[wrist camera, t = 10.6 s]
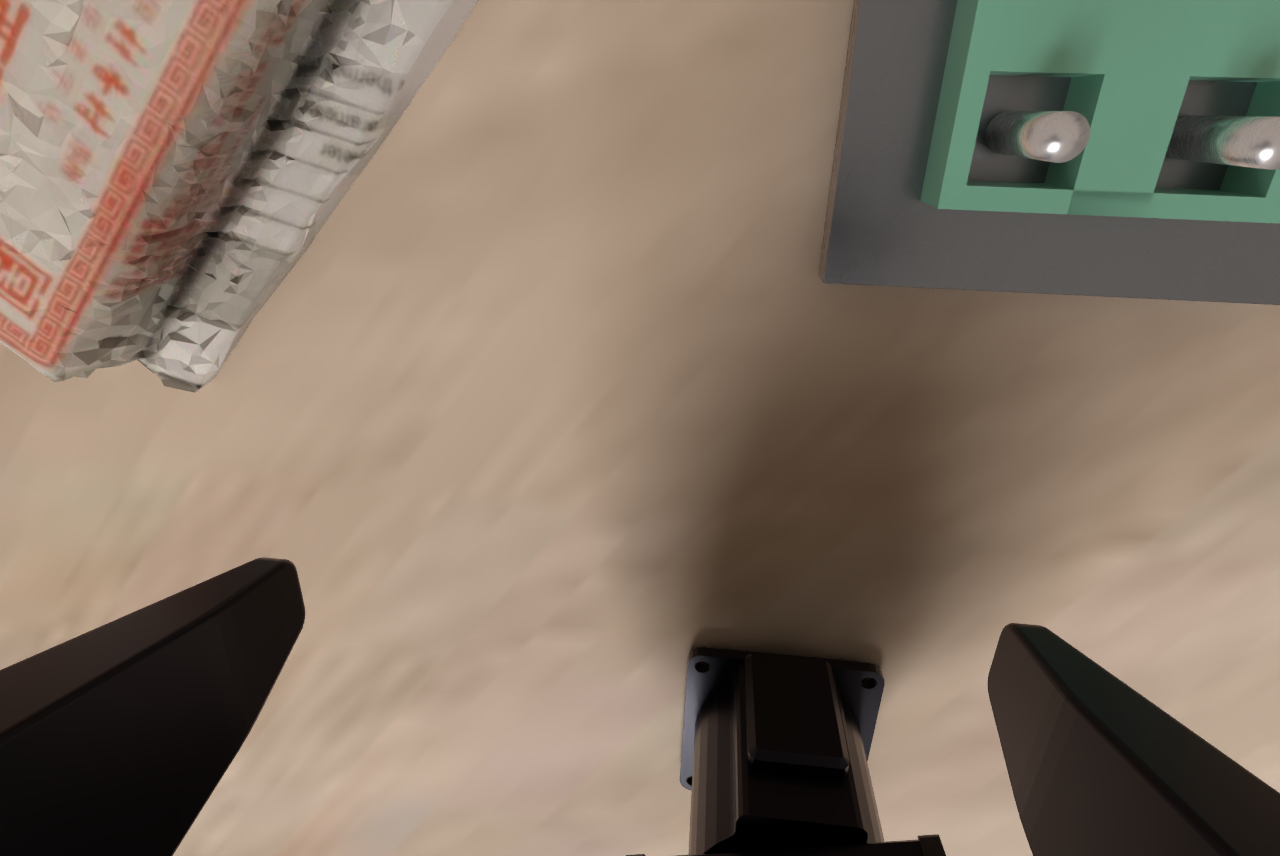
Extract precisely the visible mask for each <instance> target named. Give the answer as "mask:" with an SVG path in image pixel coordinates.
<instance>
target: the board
mask: <svg viewBox="0 0 1280 856" xmlns="http://www.w3.org/2000/svg"><path fill="white" fill-rule="evenodd" d="M989 75H1011V76H1049V77H1071V81H1070V85H1069V89H1068V93H1067V96H1066V100H1065V104H1064V108H1063V111H1074V112H1078V113H1080V114H1082V115H1083V116H1084V117H1085V118H1086V119H1087V121H1088V123H1089V126H1090V136H1089V140H1088V143H1087V145H1086V146H1085V148H1084V149H1083V151H1082V152H1081V153H1080V154H1079V155H1078V156H1076V157H1075V158H1073V159H1071V160H1069V161H1067V162H1062V163H1054V162H1050V164H1049V168H1048V171H1047V175H1046V179H1045V183H1026V182H1000V181H975V180H968V175H969V171H970V166H971V161H972V156H973V152H974V147H975V142H976V137H977V132H978V128H979V123H980V118H981V113H982V109H983V104H984V99H985V94H986V90H987V85H988V80H989ZM1189 80H1199V81H1236V82H1257V85H1256V88H1255V91H1254V94H1253V96H1252V99H1251V102H1250V105H1249V108H1248V111H1247V114H1246V116H1265V117H1280V0H958V1H957V6H956V11H955V17H954V22H953V27H952V33H951V38H950V44H949V49H948V54H947V60H946V65H945V71H944V76H943V81H942V87H941V92H940V97H939V103H938V108H937V114H936V119H935V124H934V130H933V135H932V141H931V146H930V151H929V157H928V162H927V167H926V173H925V178H924V184H923V189H922V194H921V200H920V201H922V202H924V203H926V204H928V205H930V206H933V207H935V208H937V209H953V210H976V211H999V212H1023V213H1046V214H1069V215H1093V216H1116V217H1139V218H1163V219H1186V220H1209V221H1233V222H1256V223H1280V169H1276V170H1269V169H1260V168H1251V167H1242V166H1233V165H1228V167H1227V170H1226V173H1225V176H1224V179H1223V182H1222V184H1221V187H1220V190H1204V189H1178V188H1155V186H1156V183H1157V180H1158V177H1159V174H1160V171H1161V167H1162V164H1163V161H1164V158H1165V155H1166V152H1167V148H1168V145H1169V142H1170V139H1171V136H1172V133H1173V129H1174V126H1175V123H1176V120H1177V117H1178V114H1179V110H1180V107H1181V104H1182V101H1183V98H1184V95H1185V91H1186V88H1187V85H1188V82H1189Z"/></svg>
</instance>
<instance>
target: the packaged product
mask: <svg viewBox="0 0 1280 856" xmlns="http://www.w3.org/2000/svg"><path fill="white" fill-rule="evenodd" d="M477 1H478V0H0V343H1V344H3V345H4V346H6V347H7V348H8V349H10V350H11V351H13V352H14V353H16V354H17V355H18V356H20V357H21V358H23V359H24V360H26V361H27V362H28V363H29V364H30V365H32V366H33V367H34V368H35V369H37V370H38V371H39V372H40V373H41V374H44V375H46V376H47V377H49V378H50V379H51V380H53V381H54V382H58V381H64V380H66V379H69V378H71V377H83V378H87V377H88V376H89V375H90V374H91V373H92V372H93V371H94V370H95V369H96V368H106V367H115V366H121V365H123V364H126V363H129V362H132V361H134V360H136V359H137V360H138V361H139V362H141V363H142V364H143V365H144V366H146V367H147V368H148V369H149V370H151V371H152V372H153V373H154V374H156V375H157V376H158V377H159V378H160V379H161V380H162V382H163V384H164V386H167V387H172V388H176V389H181V390H185V391H191V392H197V391H198V390H200V389H201V388H203V387H204V386H205V385H207V384H208V383H210V382H211V381H212V380H213V379H214V378H215V376H216V375H217V373H218V372H219V370H220V369H221V367H222V366H223V364H224V363H225V361H226V360H227V358H228V357H229V355H230V354H231V352H232V351H233V349H234V348H235V346H236V345H237V343H238V342H239V340H240V339H241V337H242V336H243V334H244V333H245V331H246V330H247V328H248V326H249V324H250V323H251V321H252V319H253V318H254V317H255V315H256V314H257V313H258V312H259V310H260V309H261V308H262V306H263V305H264V304H265V303H266V301H267V300H268V299H269V297H270V296H271V295H272V294H273V292H274V291H275V290H276V288H277V287H278V286H279V285H280V283H281V282H282V281H283V279H284V278H285V277H286V276H287V274H288V273H289V272H290V270H291V269H292V268H293V267H294V265H295V264H296V263H297V261H298V260H299V259H300V258H301V256H302V255H303V254H304V252H305V251H306V250H307V248H308V247H309V246H310V244H311V243H312V241H313V239H314V238H315V236H316V235H317V233H318V232H319V231H320V229H321V228H322V226H323V225H324V224H325V222H326V221H327V219H328V218H329V217H330V215H331V214H332V212H333V211H334V210H335V208H336V207H337V205H338V204H339V203H340V201H341V200H342V198H343V197H344V196H345V194H346V193H347V191H348V190H349V189H350V187H351V186H352V184H353V183H354V182H355V180H356V179H357V177H358V176H359V175H360V173H361V172H362V171H363V169H364V168H365V167H366V165H367V164H368V163H369V161H370V160H371V159H372V157H373V156H374V154H375V153H376V152H377V150H378V149H379V147H380V146H381V144H382V143H383V141H384V140H385V139H386V137H387V136H388V134H389V133H390V131H391V130H392V128H393V127H394V125H395V124H396V123H397V121H398V120H399V118H400V117H401V115H402V114H403V112H404V111H405V110H406V108H407V107H408V105H409V104H410V102H411V101H412V99H413V98H414V96H415V94H416V93H417V91H418V90H419V88H420V87H421V86H422V84H423V83H424V81H425V80H426V79H427V77H428V76H429V74H430V73H431V71H432V70H433V69H434V67H435V66H436V64H437V63H438V61H439V60H440V58H441V56H442V55H443V53H444V52H445V50H446V49H447V47H448V46H449V44H450V43H451V41H452V39H453V38H454V36H455V35H456V33H457V32H458V30H459V29H460V27H461V26H462V24H463V22H464V21H465V19H466V18H467V16H468V15H469V13H470V12H471V10H472V8H473V7H474V5H475V4H476V2H477Z"/></svg>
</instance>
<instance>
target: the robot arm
mask: <svg viewBox="0 0 1280 856" xmlns="http://www.w3.org/2000/svg"><path fill="white" fill-rule="evenodd" d="M304 620H305V606H304V602H303V597H302V592H301V588H300V583H299V578H298V574H297V570H296V567H295V565H294V564H293V563H292V562H291V561H289V560H286V559H275V558H258V559H255V560H253V561H250V562H248V563H246V564H243V565H241V566H239V567H236V568H234V569H232V570H230V571H227V572H225V573H223V574H220V575H218V576H216V577H213V578H211V579H209V580H207V581H204V582H202V583H200V584H197V585H195V586H193V587H190V588H188V589H186V590H184V591H181V592H179V593H177V594H174V595H172V596H170V597H167V598H165V599H163V600H161V601H158V602H156V603H154V604H151V605H149V606H147V607H144V608H142V609H140V610H138V611H135V612H133V613H131V614H128V615H126V616H124V617H121V618H119V619H117V620H115V621H112V622H110V623H108V624H105V625H103V626H101V627H99V628H96V629H94V630H92V631H89V632H87V633H85V634H82V635H80V636H78V637H76V638H73V639H71V640H69V641H66V642H64V643H62V644H59V645H57V646H55V647H53V648H50V649H48V650H46V651H43V652H41V653H39V654H36V655H34V656H32V657H30V658H27V659H25V660H23V661H20V662H18V663H16V664H13V665H11V666H9V667H7V668H4V669H2V670H0V856H173V854H174V853H175V851H176V849H177V848H178V846H179V845H180V843H181V841H182V840H183V838H184V837H185V835H186V833H187V832H188V830H189V829H190V827H191V826H192V824H193V822H194V821H195V819H196V818H197V816H198V814H199V813H200V811H201V810H202V808H203V807H204V805H205V803H206V802H207V800H208V799H209V797H210V795H211V794H212V792H213V791H214V789H215V787H216V786H217V784H218V783H219V781H220V780H221V778H222V776H223V775H224V773H225V772H226V770H227V768H228V767H229V765H230V764H231V762H232V761H233V759H234V757H235V756H236V754H237V753H238V751H239V749H240V748H241V746H242V744H243V743H244V741H245V739H246V738H247V736H248V734H249V733H250V731H251V729H252V727H253V725H254V723H255V721H256V720H257V718H258V716H259V714H260V712H261V710H262V708H263V706H264V704H265V702H266V700H267V698H268V696H269V694H270V692H271V690H272V688H273V686H274V684H275V682H276V680H277V678H278V676H279V674H280V672H281V670H282V668H283V666H284V664H285V662H286V660H287V658H288V656H289V654H290V652H291V650H292V648H293V646H294V644H295V642H296V640H297V638H298V636H299V634H300V632H301V630H302V628H303V624H304ZM699 661H704V662H707V664H699V663H698V662H699ZM867 677H871V678H872V679H870V680H863V679H864V678H867ZM883 688H884V678H883V675H882V671H881V670H880V668H879V667H878V666H876V665H875V664H871V663H865V662H854V661H843V660H833V659H822V658H812V657H801V656H791V655H780V654H770V653H759V652H748V651H738V650H727V649H717V648H706V647H700V648H696V649H693V650H692V651H691V652H690V653H689V656H688V667H687V682H686V697H685V711H684V726H683V740H682V755H681V770H680V783H681V785H682V786H683V787H684V788H686V789H688V790H692V796H691V817H690V837H689V855H678V856H946V854H945V851H944V849H943V846H942V843H941V840H940V837H939V835H923V836H918V840H906V841H891V842H884V838H883V833H882V828H881V824H880V819H879V815H878V810H877V806H876V801H875V796H874V792H873V787H872V783H871V778H870V774H869V769H868V764H867V760H868V756H869V751H870V747H871V742H872V738H873V733H874V729H875V724H876V720H877V715H878V711H879V706H880V702H881V697H882V693H883ZM988 693H989V698H990V702H991V706H992V710H993V714H994V718H995V722H996V726H997V730H998V734H999V738H1000V742H1001V746H1002V750H1003V754H1004V758H1005V762H1006V766H1007V770H1008V774H1009V778H1010V782H1011V786H1012V790H1013V794H1014V798H1015V801H1016V805H1017V808H1018V812H1019V816H1020V819H1021V822H1022V825H1023V828H1024V831H1025V834H1026V837H1027V840H1028V842H1029V845H1030V848H1031V851H1032V853H1033V856H1280V793H1279V792H1277V791H1276V790H1274V789H1273V788H1272V787H1270V786H1269V785H1267V784H1266V783H1265V782H1263V781H1262V780H1260V779H1259V778H1258V777H1256V776H1255V775H1253V774H1252V773H1250V772H1249V771H1248V770H1246V769H1245V768H1243V767H1242V766H1241V765H1239V764H1238V763H1236V762H1235V761H1234V760H1232V759H1231V758H1229V757H1228V756H1226V755H1225V754H1224V753H1222V752H1221V751H1219V750H1218V749H1217V748H1215V747H1214V746H1212V745H1211V744H1210V743H1208V742H1207V741H1205V740H1204V739H1202V738H1201V737H1200V736H1198V735H1197V734H1195V733H1194V732H1193V731H1191V730H1190V729H1188V728H1187V727H1186V726H1184V725H1183V724H1181V723H1180V722H1179V721H1177V720H1176V719H1174V718H1173V717H1171V716H1170V715H1169V714H1167V713H1166V712H1164V711H1163V710H1162V709H1160V708H1159V707H1157V706H1156V705H1155V704H1153V703H1152V702H1150V701H1149V700H1147V699H1146V698H1145V697H1143V696H1142V695H1140V694H1139V693H1138V692H1136V691H1135V690H1133V689H1132V688H1131V687H1129V686H1128V685H1126V684H1125V683H1123V682H1122V681H1121V680H1119V679H1118V678H1116V677H1115V676H1114V675H1112V674H1111V673H1109V672H1108V671H1107V670H1105V669H1104V668H1102V667H1101V666H1099V665H1098V664H1097V663H1095V662H1094V661H1092V660H1091V659H1090V658H1088V657H1087V656H1085V655H1084V654H1083V653H1081V652H1080V651H1078V650H1077V649H1075V648H1074V647H1073V646H1071V645H1070V644H1068V643H1067V642H1066V641H1064V640H1063V639H1061V638H1060V637H1059V636H1057V635H1056V634H1054V633H1053V632H1052V631H1050V630H1049V629H1047V628H1045V627H1043V626H1039V625H1028V624H1017V623H1010V624H1008V625H1006V626H1005V627H1004V629H1003V630H1002V632H1001V635H1000V638H999V641H998V645H997V648H996V651H995V655H994V658H993V661H992V665H991V668H990V671H989V676H988ZM626 856H645V854H638V855H626Z"/></svg>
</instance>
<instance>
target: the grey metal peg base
mask: <svg viewBox="0 0 1280 856" xmlns="http://www.w3.org/2000/svg"><path fill="white" fill-rule="evenodd" d="M957 1H958V0H854V7H853V14H852V22H851V30H850V37H849V45H848V53H847V61H846V68H845V76H844V84H843V91H842V99H841V107H840V115H839V122H838V130H837V138H836V145H835V153H834V161H833V169H832V176H831V184H830V192H829V199H828V207H827V215H826V222H825V230H824V238H823V246H822V253H821V261H820V269H819V276H820V278H821V279H822V281H823V283H837V284H857V285H878V286H899V287H919V288H940V289H961V290H982V291H1002V292H1023V293H1044V294H1065V295H1085V296H1106V297H1127V298H1147V299H1168V300H1189V301H1210V302H1230V303H1251V304H1272V305H1280V223H1256V222H1233V221H1209V220H1186V219H1163V218H1139V217H1116V216H1093V215H1069V214H1046V213H1023V212H999V211H976V210H953V209H937V208H935V207H933V206H930V205H928V204H926V203H924V202H922V201H920V200H921V194H922V189H923V184H924V178H925V173H926V167H927V162H928V157H929V151H930V146H931V141H932V135H933V130H934V124H935V119H936V114H937V108H938V103H939V97H940V92H941V87H942V81H943V76H944V71H945V65H946V60H947V54H948V49H949V44H950V38H951V33H952V27H953V22H954V17H955V11H956V6H957ZM1070 81H1071V77H1049V76H1011V75H989V80H988V85H987V90H986V94H985V99H984V104H983V109H982V113H981V118H980V123H979V128H978V132H977V137H976V142H975V147H974V152H973V156H972V161H971V166H970V171H969V175H968V180H975V181H1000V182H1026V183H1045V179H1046V175H1047V171H1048V168H1049V164H1050V162H1054V163H1062V162H1067V161H1069V160H1071V159H1073V158H1075V157H1076V156H1078V155H1079V154H1080V153H1081V152H1082V151H1083V149H1084V148H1085V146H1086V145H1087V143H1088V140H1089V136H1090V126H1089V123H1088V121H1087V119H1086V118H1085V117H1084V116H1083V115H1082V114H1080V113H1078V112H1074V111H1063V108H1064V104H1065V100H1066V96H1067V93H1068V89H1069V85H1070ZM1256 85H1257V82H1236V81H1199V80H1189V82H1188V85H1187V88H1186V91H1185V95H1184V98H1183V101H1182V104H1181V107H1180V110H1179V114H1178V117H1177V120H1176V123H1175V126H1174V129H1173V133H1172V136H1171V139H1170V142H1169V145H1168V148H1167V152H1166V155H1165V158H1164V161H1163V164H1162V167H1161V171H1160V174H1159V177H1158V180H1157V183H1156V186H1155V188H1178V189H1204V190H1220V187H1221V184H1222V182H1223V179H1224V176H1225V173H1226V170H1227V167H1228V165H1233V166H1242V167H1251V168H1260V169H1269V170H1276V169H1280V117H1265V116H1246V114H1247V111H1248V108H1249V105H1250V102H1251V99H1252V96H1253V94H1254V91H1255V88H1256Z"/></svg>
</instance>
